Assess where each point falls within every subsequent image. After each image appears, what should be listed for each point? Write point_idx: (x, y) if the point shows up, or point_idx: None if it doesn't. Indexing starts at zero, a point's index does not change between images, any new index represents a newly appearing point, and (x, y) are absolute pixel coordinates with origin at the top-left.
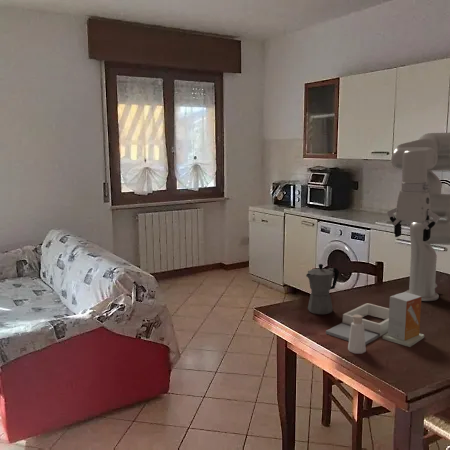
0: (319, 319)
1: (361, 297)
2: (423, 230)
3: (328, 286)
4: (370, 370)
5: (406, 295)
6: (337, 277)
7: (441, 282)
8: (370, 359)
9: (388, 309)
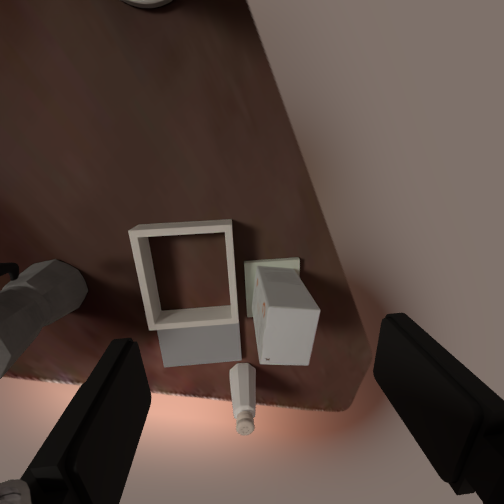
0: (103, 324)
1: (31, 118)
2: (440, 475)
3: (35, 324)
4: (291, 402)
5: (288, 332)
6: None
7: None
8: (274, 381)
9: (195, 233)
